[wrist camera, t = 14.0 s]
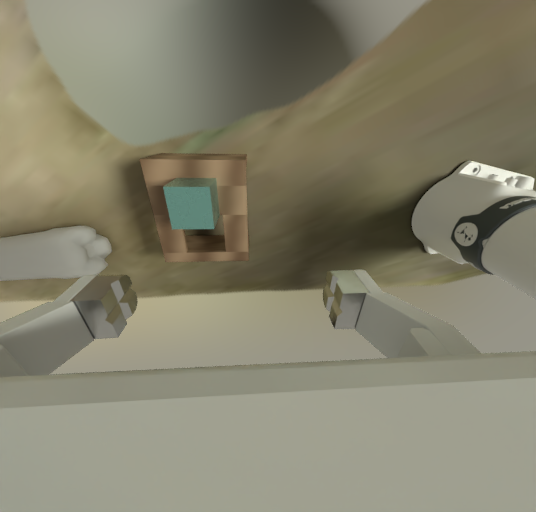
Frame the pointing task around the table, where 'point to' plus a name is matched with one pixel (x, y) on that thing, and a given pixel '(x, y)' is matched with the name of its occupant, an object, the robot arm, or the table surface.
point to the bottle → (53, 254)
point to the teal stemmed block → (192, 203)
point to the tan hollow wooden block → (229, 198)
